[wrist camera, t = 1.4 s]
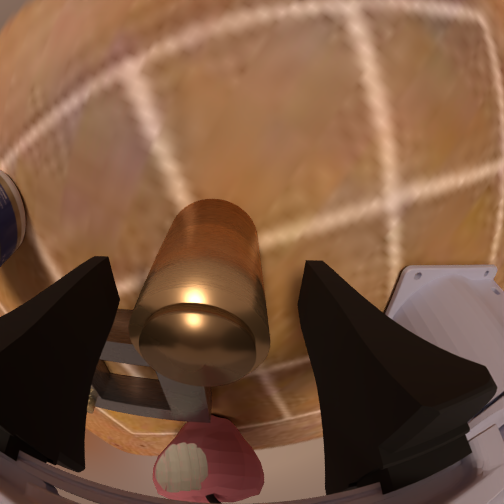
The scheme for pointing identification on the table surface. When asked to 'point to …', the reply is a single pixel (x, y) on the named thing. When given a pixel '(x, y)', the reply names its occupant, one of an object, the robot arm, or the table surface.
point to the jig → (143, 384)
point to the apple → (208, 465)
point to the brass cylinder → (204, 299)
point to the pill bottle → (10, 218)
